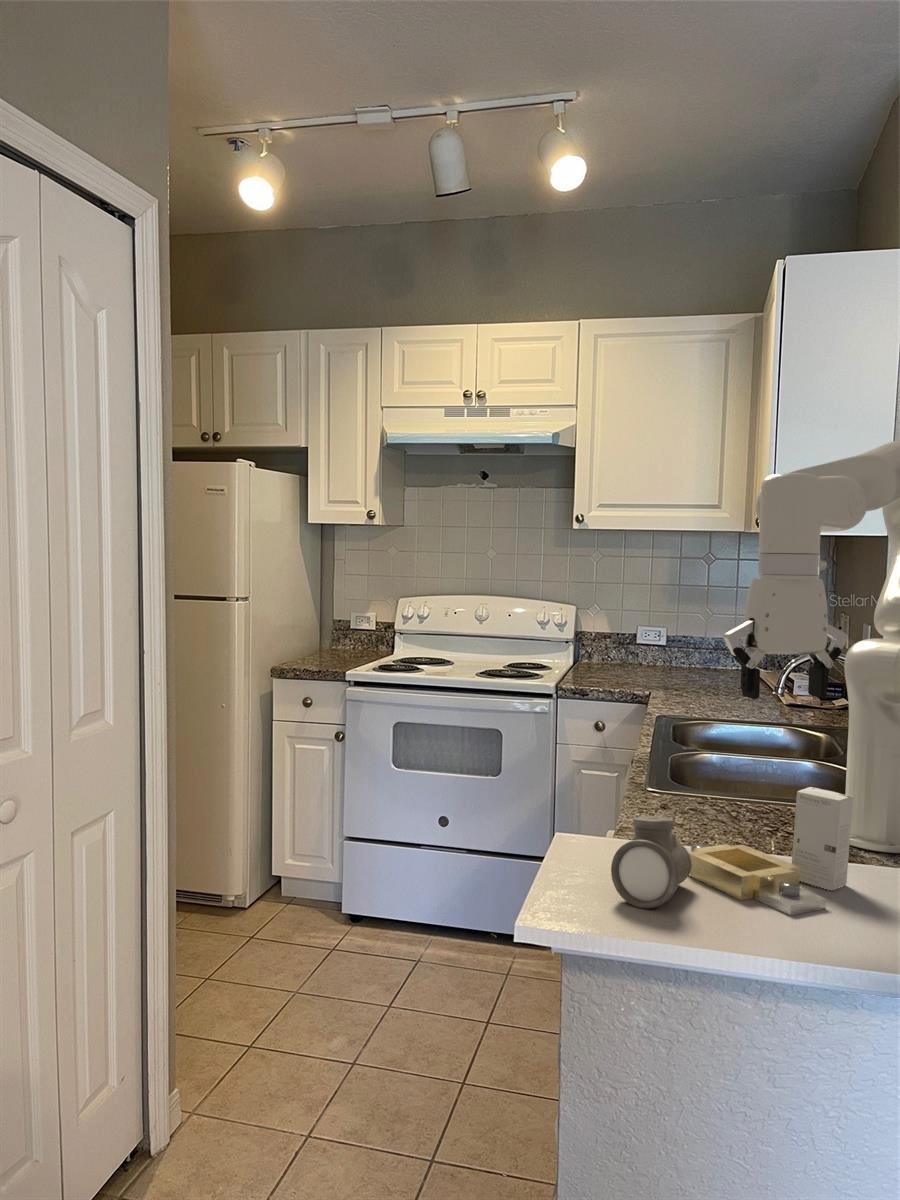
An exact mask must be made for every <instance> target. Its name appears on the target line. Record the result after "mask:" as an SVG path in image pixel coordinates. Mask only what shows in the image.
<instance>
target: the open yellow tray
mask: <svg viewBox="0 0 900 1200" xmlns="http://www.w3.org/2000/svg"><path fill="white" fill-rule="evenodd" d="M685 849H686V850H687V851H688V853H689V855H690V858H691V863H692V866H691V871H690V874H689V876H688V877H691V876H692V877H691V878H693V879H695V880H697V881H699V882H701V881H702V882H701V883H703V882H704V883H703V884H705V883H706V884H705V885H707V884H709V885H708V886H710V887H712V886H713V887H712V888H714V887H715V888H714V889H716V888H717V889H716V890H718V889H719V890H718V891H720V890H721V891H720V892H722V891H724V892H726V893H727V894H726V893H725V894H726V895H729V896H731V897H733V898H735V899H737V900H740V901H744V900H745V901H746V900H750V899H751V900H752V899H753V900H756V901H759V902H761V903H762V904H765V905H766V906H769V907H771V908H773V909H775V910H778V911H780V912H782V913H785V914H786V915H788V916H795V915H799V914H804V913H809V912H815V911H819V910H818V909H820V910H824V909H823V908H827V898H825V897H823V896H820V895H818V894H815V893H813V892H812V891H811V892H810V891H808V890H806V889H803V888H801V884H800V881H799V871H800V867H798V866H796V865H793V864H792V862H791V863H790V862H788V861H785V860H784V859H781V858H778V857H775V856H773V855H771V854H767V853H764V851H760V850H758V849H755V848H752V847H751V846H748V845H745V844H739V845H730V844H728V843H725V844H718V845H712V846H709V845H707V844H702V843H693V844H691V847H688V848H686V847H685ZM724 892H723V893H724ZM814 910H815V911H814Z"/></svg>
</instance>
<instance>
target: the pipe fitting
mask: <svg viewBox="0 0 900 1200" xmlns="http://www.w3.org/2000/svg"><path fill="white" fill-rule="evenodd" d="M674 821H675V820H674V819H673V818H672V817H671V818H670V817H667V816H666V817H665V816H656V815H655V816H653V815H649V816H646V815H644V816H643V815H641V816H635V817H634V816H633V818H632V827H634V837H633V840H631V841H628V842H626V843H624V844H623V845H621V846H620V847H619V848H618V849H617V850H616V852H615V853H614V856H613V858H612V861H611V864H610V865H611V867H610V872H611V873H610V875H611V880H612V883H613V886H614V888H615V890H616V891H617V894H619V896H620V897H621V898H622V899H623V900H624V901H625V902H626V903H628V904H630V905H631V906H633V907H636V908H639V909H654V908H658V907H660V906H662V905H664V904H665V903H667V902H668V901H669V900H671V899H672V897H673V896H674V894H675V893H676V891H677V889H678V887H679V885H680V884H682V883H683V882H685V881H686V879H687V878H688V877H690V876H689V874H690V871H691V866H692V863H691V858H690V855H689V853H688V851H687V850H686V847H685V846H684V845H683V844H682V843H681V842H679V841H677V836H676V833H675V832H673V830H672V829H674V827H675V824H674V823H675V822H674Z"/></svg>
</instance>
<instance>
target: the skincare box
mask: <svg viewBox="0 0 900 1200" xmlns="http://www.w3.org/2000/svg"><path fill="white" fill-rule="evenodd" d="M852 806H853V797H852V796H848V795H845V794H843V793H839V792H836V791H832V790H827V789H822V788H818V787H812V786H810V787H809V786H808V787H806V788H804V789H799V790H798V791H796V801H795V813H794V815H795V816H794V829H793V841H792V856H791V864H793V865H796V866H798V867H800V871H799V882H800V881H801V883H803V882H805V883H804V884H806V883H808V884H807V885H809V884H811V885H810V886H813V885H815V886H814V887H816V886H819V887H821V888H820V889H822V888H825V889H828V890H827V891H829V890H831V891H830V892H833V891H832V890H834V891H836V890H835V889H837V888H839V887H841V886H843V887H844V885H845V886H846V885H847V882H848V866H849V856H850V855H849V854H850V846H851V845H850V831H851V818H852ZM819 887H818V888H819ZM841 888H842V887H841ZM825 889H824V890H825ZM839 889H840V888H839ZM837 890H838V889H837Z"/></svg>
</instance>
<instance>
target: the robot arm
mask: <svg viewBox="0 0 900 1200" xmlns="http://www.w3.org/2000/svg"><path fill="white" fill-rule="evenodd" d="M881 508H882V510H881V511H882V517H883V521H884V526H885V530H886V534H887V537H888V540H889V545H890V549H891V554H892V555H891V556H892V557H891V563H890V566H889V570H888V573H887V575H886V578H885V580H884V583H883V586H882V589H881V592H880V594H879V597H878V600H877V604H876V606H875V609H874V614H873V624H874V627H875V630H876V631H877V632H878V633H879V635H880V636H882V638H877V637H876V638H874V637H873V638H867V639H866V638H865V639H863V640H860V641H857V642H856V643H854V644H853V645H851V647H849V649H848V650H847V652H846V655H845V658H844V677H845V684H846V690H847V700H848V701H847V702H848V733H847V734H848V736H847V737H848V738H847V752H846V753H847V755H846V776H845V794H844V795H848V796H852V797H853V806H852V818H851V831H850V845H849V846H852V847H856V848H860V849H863V850H868V851H869V850H870V851H874V852H881V853H887V854H888V853H892V854H900V439H899V440H894V441H889V442H887V443H883V444H882V445H879V446H877V447H874V448H872V449H869V450H867V451H864V452H862V453H859V454H856V455H852V456H848V457H844V458H839V459H836V460H833V461H832V460H831V461H829V462H826V463H822V464H817V465H812V466H808V467H805V468H799V469H796V470H793V471H790V472H788V473H787V472H784V473H776V474H775V473H774V474H769V475H767V476H766V477H765V478H764V479H763V480H762V483H761V486H760V491H759V492H758V495H757V496H756V501H755V513H756V517H757V519H758V521H759V535H758V536H759V537H758V568H757V577H752V578H751V581H750V584H749V588H748V591H747V592H748V593H747V597H746V601H745V608H744V615H743V623H741V624H740V625H738V626H736V627H734V628H732V629H730V630H729V631H727V632H725V633H724V634H723V635H722V636H723V640H724V642H725V644H726V646H727V649H728V652H729V654H730V655H731V657H732V658H733V659H734V660H735V661H736V663H737V665H738V666H740V668H741V669H740V672H741V673H740V689H741V691H742V696H743V697H744V698H748V699H750V700H758V699H760V687H761V681H760V680H761V670H760V668H758V667H757V665H758V664H759V663H760V662H761V661H762V659H763V658H764V657H765V656H766V654H768V655H807V657H808V658H809V660H810V661H811V662H812V663H813V665H809V668H808V683H807V684H808V688H807V689H808V690H807V693H808V695H809V696H811V697H816V698H820V699H826V698H827V693H828V689H829V672H830V671H829V669H831V668H832V667H833V666H834V662H835V661H836V660H837V659H838V658H839V657H840V656H841V654H842V650H843V649H844V647H845V645H846V643H847V640H848V639H849V636H848V633H845V632H843V631H842V630H840V629H838V628H836V627H835V626H833V625H831V623H830V624H829V620H828V619H829V618H828V604H827V603H828V602H827V596H826V589H825V584H824V579H822V578H821V579H820V575H821V573H820V572H821V571H824V570H826V569H827V567H828V563H827V561H826V560H825V559H821V554H820V553H821V533H825V532H829V533H830V532H832V533H833V532H834V533H835V532H843V531H847V530H851V529H853V528H855V527H856V526H857V525H859V524H860V522H861V521H862V520H863V519H864V517H865V515H866V513H867V512H871V511H877V510H879V509H881ZM828 637H829V638H830V643H829V644H830V645H829V646H827V645H828ZM883 637H884V638H883ZM741 639H742V646H743V648H744V649H745V650H744V649H743V648H742V647H741V642H740V640H741Z"/></svg>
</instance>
